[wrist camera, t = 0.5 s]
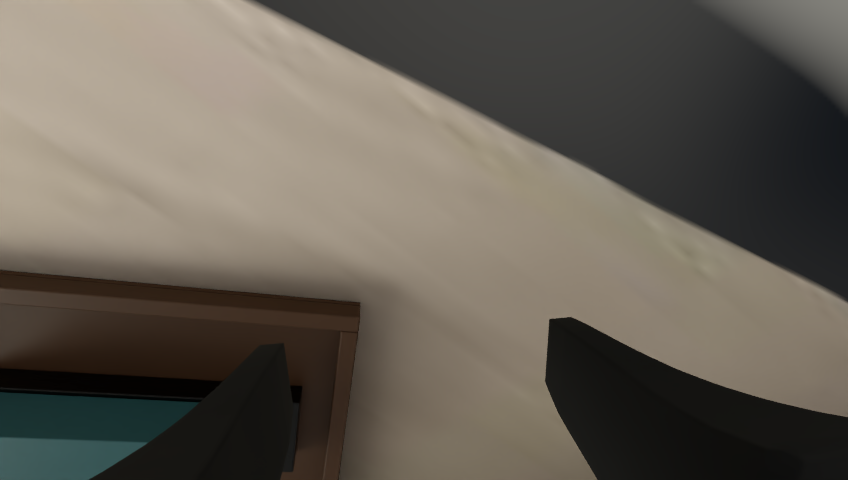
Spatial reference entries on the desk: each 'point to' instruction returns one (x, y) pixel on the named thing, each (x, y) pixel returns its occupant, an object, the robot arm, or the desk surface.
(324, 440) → the tray
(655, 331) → the desk surface
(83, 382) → the teal long block
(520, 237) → the desk surface
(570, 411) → the robot arm
